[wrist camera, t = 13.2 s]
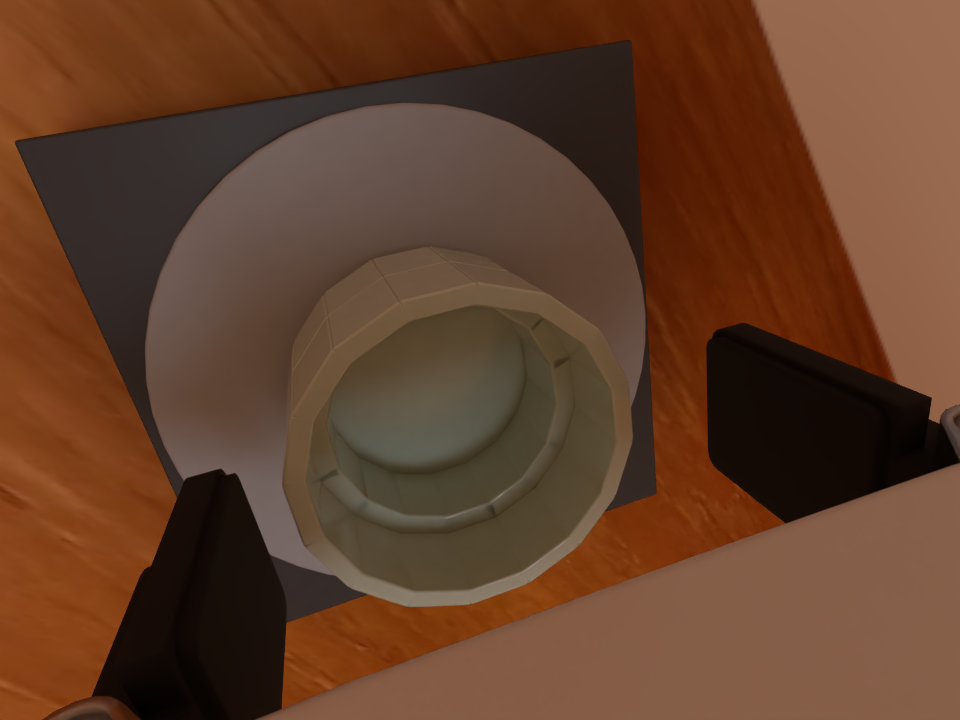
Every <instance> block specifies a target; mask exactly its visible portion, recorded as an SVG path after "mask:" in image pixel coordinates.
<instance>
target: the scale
mask: <svg viewBox="0 0 960 720" xmlns="http://www.w3.org/2000/svg"><path fill="white" fill-rule="evenodd" d="M15 144H16V147H17V149H18V151H19V153H20V155H21V158H22V160H23V162H24V164H25V166H26V169H27V171H28V173H29V175H30V177H31V179H32V182H33V184H34V186H35V188H36V190H37V193H38V195H39V197H40V199H41V201H42V204H43V206H44V208H45V210H46V212H47V214H48V217H49V219H50V221H51V223H52V225H53V228H54V230H55V232H56V234H57V236H58V238H59V241H60V243H61V245H62V247H63V249H64V252H65V254H66V256H67V258H68V260H69V263H70V265H71V267H72V269H73V271H74V273H75V276H76V278H77V280H78V282H79V284H80V287H81V289H82V291H83V293H84V295H85V298H86V300H87V302H88V304H89V306H90V308H91V311H92V313H93V315H94V317H95V319H96V322H97V324H98V326H99V328H100V330H101V332H102V335H103V337H104V339H105V341H106V343H107V346H108V348H109V350H110V352H111V354H112V357H113V359H114V361H115V363H116V365H117V367H118V370H119V372H120V374H121V376H122V378H123V381H124V383H125V385H126V387H127V389H128V392H129V394H130V396H131V398H132V400H133V402H134V405H135V407H136V409H137V411H138V413H139V416H140V418H141V420H142V422H143V424H144V426H145V429H146V431H147V433H148V435H149V437H150V440H151V442H152V444H153V446H154V448H155V451H156V453H157V455H158V457H159V459H160V461H161V464H162V466H163V468H164V470H165V472H166V475H167V477H168V479H169V481H170V483H171V485H172V488H173V490H174V492H175V494H176V496H177V498H178V496H179V493H180V490H181V488H182V485H183V483H184V480H185V479H186V478H188V477H191V476H195V475H199V474H202V473H206V472H209V471H213V470H216V469H220V468H221V469H222V470H224V472H225V473H226V475H229V474H233V473H236V474H237V475H238V477H239V479H240V481H241V484H242V486H243V489H244V491H245V494H246V496H247V499H248V501H249V504H250V506H251V509H252V511H253V514H254V516H255V519H256V521H257V524H258V527H259V529H260V532H261V534H262V537H263V539H264V542H265V544H266V547H267V549H268V552H269V554H270V557H271V559H272V562H273V564H274V567H275V569H276V572H277V574H278V577H279V580H280V582H281V585H282V587H283V590H284V593H285V598H286V604H287V617H286V623H287V622H290V621H293V620H296V619H299V618H301V617H304V616H307V615H310V614H313V613H316V612H319V611H322V610H324V609H327V608H330V607H333V606H336V605H339V604H342V603H345V602H347V601H350V600H353V599H356V598H359V597H362V596H365V595H367V594H366V593H363V592H360V591H357V590H354V589H351V588H350V587H348V586H347V585H346V584H344V583H343V582H342V581H341V580H340V579H339V578H338V577H337V576H336V575H335V574H334V573H332V572H331V571H330V570H329V569H328V568H327V567H326V566H325V565H324V564H323V563H322V562H320V561H319V560H318V559H317V558H316V557H315V556H314V555H313V554H312V553H311V552H310V551H308V550H307V549H306V548H305V545H303V543H302V540H301V538H300V535H299V532H298V529H297V527H296V524H295V521H294V519H293V516H292V513H291V510H290V508H289V505H288V502H287V499H286V497H285V494H284V491H283V489H282V466H283V446H284V431H285V429H284V428H285V408H286V392H287V383H288V375H289V367H290V359H291V351H292V347H293V345H294V340H295V339H296V337H297V335H298V334H299V332H300V330H301V329H302V327H303V325H304V324H305V322H306V321H307V319H308V317H309V316H310V314H311V312H312V311H313V309H314V308H315V306H316V304H317V303H318V301H319V299H320V298H321V297H322V296H323V295H324V293H325V292H326V291H327V290H329V289H330V288H332V287H333V286H334V285H336V284H337V283H339V282H340V281H341V280H343V279H344V278H346V277H347V276H349V275H350V274H351V273H353V272H354V271H356V270H357V269H358V268H360V267H361V266H363V265H364V264H365V263H367V262H368V261H370V260H372V261H373V259H374V258H378V257H383V256H387V255H392V254H396V253H400V252H405V251H409V250H414V249H418V248H422V247H438V248H443V249H449V250H454V251H460V252H465V253H471V254H476V255H481V256H483V257H485V258H488V259H490V260H491V261H493V262H495V263H496V264H498V265H500V266H501V267H503V268H505V269H507V270H508V271H510V272H512V273H514V274H515V275H517V276H519V277H520V278H522V279H524V280H526V281H527V282H529V283H531V284H532V285H534V286H536V287H537V288H539V289H541V290H543V291H544V292H546V293H548V294H549V295H551V296H552V297H554V298H555V299H557V300H558V301H560V302H561V303H562V304H564V305H565V306H567V307H568V308H570V309H571V310H573V311H574V312H576V313H577V314H578V315H580V316H581V317H583V318H584V319H586V320H587V321H589V322H590V323H592V324H593V325H594V326H596V327H597V328H598V329H599V330H600V331H601V332H602V334H603V336H604V338H605V339H606V341H607V343H608V345H609V347H610V348H611V350H612V352H613V354H614V356H615V357H616V359H617V361H618V363H619V365H620V366H621V368H622V370H623V372H624V374H625V375H626V377H627V379H628V383H629V389H630V403H631V417H632V431H633V439H632V445H631V449H630V452H629V455H628V458H627V461H626V464H625V467H624V471H623V474H622V477H621V480H620V483H619V486H618V490H617V493H616V495H615V496H614V499H613V500H612V502H611V503H610V504H609V506H608V507H607V509H606V510H605V511H604V512H606V511H608V510H611V509H614V508H617V507H620V506H623V505H626V504H629V503H631V502H634V501H637V500H640V499H643V498H646V497H649V496H651V495H654V494H656V493H657V492H656V474H655V456H654V438H653V420H652V402H651V383H650V365H649V347H648V329H647V311H646V293H645V275H644V257H643V239H642V221H641V203H640V185H639V166H638V148H637V130H636V112H635V94H634V76H633V58H632V42H631V41H630V40H626V41H620V42H614V43H608V44H602V45H596V46H590V47H584V48H577V49H571V50H565V51H559V52H553V53H547V54H541V55H535V56H529V57H522V58H516V59H510V60H504V61H498V62H492V63H486V64H480V65H474V66H468V67H461V68H455V69H449V70H443V71H437V72H431V73H425V74H419V75H413V76H406V77H400V78H394V79H388V80H382V81H376V82H370V83H364V84H358V85H352V86H345V87H339V88H333V89H327V90H321V91H315V92H309V93H303V94H297V95H290V96H284V97H278V98H272V99H266V100H260V101H254V102H248V103H242V104H236V105H229V106H223V107H217V108H211V109H205V110H199V111H193V112H187V113H181V114H174V115H168V116H162V117H156V118H150V119H144V120H138V121H132V122H126V123H120V124H113V125H107V126H101V127H95V128H89V129H83V130H77V131H71V132H65V133H58V134H52V135H46V136H40V137H34V138H28V139H22V140H17V141H16V142H15Z"/></svg>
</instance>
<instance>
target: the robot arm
mask: <svg viewBox="0 0 960 720" xmlns="http://www.w3.org/2000/svg"><path fill="white" fill-rule="evenodd" d="M931 400H932V398H931V397H928V396H926V395H923V394H921V393H918V392H916V391H913V390H911V389H908V388H906V387H903V386H901V385H899V384H896V383H894V382H891V381H889V380H886V379H884V378H881V377H879V376H876V375H874V374H871V373H869V372H866V371H864V370H861V369H859V368H856V367H854V366H851V365H849V364H846V363H844V362H841V361H839V360H836V359H834V358H831V357H829V356H826V355H824V354H821V353H819V352H816V351H814V350H811V349H809V348H806V347H804V346H801V345H799V344H797V343H794V342H792V341H789V340H787V339H784V338H782V337H779V336H777V335H774V334H772V333H769V332H767V331H764V330H762V329H759V328H757V327H754V326H752V325H749V324H746V323H741V324H737V325H733V326H730V327H726V328H723V329H719V330H716V331H715V332H714V334H713V336H712V339H710V340H709V341H708V343H707V410H708V453H709V457H710V460H711V462H712V464H713V465H714V466H715V467H716V468H717V469H718V470H719V471H720V472H721V473H723V474H724V475H725V476H726V477H728V478H729V479H730V480H732V481H733V482H734V483H735V484H737V485H738V486H739V487H740V488H742V489H743V490H744V491H745V492H747V493H748V494H749V495H750V496H752V497H753V498H754V499H756V500H757V501H758V502H759V503H761V504H762V505H763V506H764V507H766V508H767V509H768V510H769V511H771V512H772V513H773V514H775V515H776V516H777V517H778V518H780V519H781V520H782V521H783V522H785V523H786V524H783V525H780V526H778V527H775V528H772V529H769V530H766V531H764V532H761V533H758V534H755V535H752V536H749V537H747V538H744V539H741V540H738V541H735V542H733V543H730V544H727V545H724V546H721V547H719V548H716V549H713V550H710V551H707V552H705V553H702V554H699V555H696V556H693V557H691V558H688V559H685V560H682V561H680V562H677V563H674V564H671V565H669V566H666V567H663V568H660V569H658V570H655V571H652V572H649V573H647V574H644V575H641V576H638V577H635V578H633V579H630V580H627V581H624V582H622V583H619V584H616V585H613V586H611V587H608V588H605V589H602V590H600V591H597V592H594V593H591V594H589V595H586V596H583V597H580V598H578V599H575V600H572V601H569V602H567V603H564V604H561V605H558V606H556V607H553V608H550V609H547V610H545V611H542V612H539V613H536V614H534V615H531V616H528V617H525V618H523V619H520V620H517V621H515V622H512V623H509V624H506V625H504V626H501V627H498V628H496V629H493V630H490V631H487V632H485V633H482V634H479V635H477V636H474V637H471V638H469V639H466V640H463V641H460V642H458V643H455V644H452V645H449V646H447V647H444V648H441V649H439V650H436V651H433V652H430V653H428V654H425V655H422V656H419V657H417V658H414V659H411V660H408V661H406V662H403V663H400V664H398V665H395V666H392V667H389V668H387V669H384V670H381V671H378V672H376V673H373V674H370V675H367V676H365V677H362V678H359V679H357V680H354V681H351V682H348V683H346V684H343V685H341V686H338V687H336V688H333V689H331V690H328V691H326V692H323V693H321V694H318V695H316V696H313V697H311V698H308V699H306V700H303V701H301V702H298V703H296V704H293V705H291V706H288V707H286V708H283V709H281V707H282V689H283V671H284V653H285V635H286V617H287V604H286V598H285V593H284V590H283V587H282V585H281V582H280V580H279V577H278V574H277V572H276V569H275V567H274V564H273V562H272V559H271V557H270V554H269V552H268V549H267V547H266V544H265V542H264V539H263V537H262V534H261V532H260V529H259V527H258V524H257V521H256V519H255V516H254V514H253V511H252V509H251V506H250V504H249V501H248V499H247V496H246V494H245V491H244V489H243V486H242V484H241V481H240V479H239V477H238V475H237V474H236V473H233V474H229V475H226V473H225V472H224V470H222V469H221V468H220V469H216V470H213V471H209V472H206V473H202V474H199V475H195V476H191V477H188V478H186V479H185V480H184V483H183V485H182V488H181V490H180V493H179V496H178V498H177V501H176V503H175V506H174V509H173V511H172V514H171V516H170V519H169V521H168V524H167V527H166V529H165V532H164V534H163V537H162V540H161V542H160V545H159V547H158V550H157V553H156V555H155V558H154V560H153V563H152V566H151V567H148V568H147V569H145V570H144V571H143V573H142V574H141V576H140V578H139V580H138V583H137V585H136V588H135V590H134V593H133V595H132V598H131V600H130V603H129V605H128V608H127V610H126V613H125V615H124V618H123V620H122V622H121V625H120V627H119V630H118V632H117V635H116V637H115V640H114V642H113V645H112V647H111V650H110V652H109V655H108V657H107V660H106V662H105V665H104V667H103V670H102V672H101V675H100V677H99V680H98V682H97V685H96V687H95V689H94V692H93V694H92V697H89V698H86V699H82V700H79V701H75V702H73V703H71V704H69V705H67V706H65V707H63V708H61V709H58V710H56V711H54V712H53V713H51V714H50V715H48V716H47V717H45V718H44V719H42V720H960V405H955V406H953V407H951V408H949V409H946V410H945V411H944V412H943V413H942V415H941V418H940V424H938V423H936V422H934V421H932V420H929V413H930V406H931Z"/></svg>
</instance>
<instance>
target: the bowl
mask: <svg viewBox="0 0 960 720" xmlns="http://www.w3.org/2000/svg"><path fill="white" fill-rule="evenodd" d="M284 429H285V431H284V446H283V466H282V489H283V491H284V494H285V497H286V499H287V502H288V505H289V508H290V510H291V513H292V516H293V519H294V521H295V524H296V527H297V529H298V532H299V535H300V538H301V540H302V543H303V545H305V548H306V549H307V550H308V551H310V552H311V553H312V554H313V555H314V556H315V557H316V558H317V559H318V560H319V561H320V562H322V563H323V564H324V565H325V566H326V567H327V568H328V569H329V570H330V571H331V572H332V573H334V574H335V575H336V576H337V577H338V578H339V579H340V580H341V581H342V582H343V583H344V584H346V585H347V586H348V587H350V588H351V589H354V590H357V591H360V592H363V593H366V594H369V595H372V596H375V597H378V598H381V599H384V600H387V601H390V602H393V603H396V604H399V605H402V606H405V607H407V606H408V607H426V606H452V605H469V604H474V603H476V602H479V601H482V600H484V599H487V598H490V597H493V596H495V595H498V594H501V593H504V592H506V591H509V590H512V589H515V588H517V587H520V586H523V585H526V584H528V582H531V581H533V580H534V579H535V578H537V577H538V576H539V575H541V574H542V573H543V572H545V571H546V570H547V569H549V568H550V567H551V566H553V565H554V564H555V563H557V562H558V561H559V560H561V559H562V558H563V557H565V556H566V555H568V554H569V553H570V552H572V551H573V550H574V549H576V548H577V547H578V545H580V544H581V543H582V541H583V540H584V539H585V537H586V536H587V534H588V533H589V532H590V530H591V529H592V528H593V526H594V525H595V524H596V522H597V521H598V519H599V518H600V517H601V515H602V514H603V513H604V511H605V510H606V509H607V507H608V506H609V504H610V503H611V502H612V500H613V499H614V496H615V495H616V493H617V490H618V486H619V483H620V480H621V477H622V474H623V471H624V467H625V464H626V461H627V458H628V455H629V452H630V449H631V445H632V439H633V431H632V417H631V403H630V389H629V383H628V379H627V377H626V375H625V374H624V372H623V370H622V368H621V366H620V365H619V363H618V361H617V359H616V357H615V356H614V354H613V352H612V350H611V348H610V347H609V345H608V343H607V341H606V339H605V338H604V336H603V334H602V332H601V331H600V330H599V329H598V328H597V327H596V326H594V325H593V324H592V323H590V322H589V321H587V320H586V319H584V318H583V317H581V316H580V315H578V314H577V313H576V312H574V311H573V310H571V309H570V308H568V307H567V306H565V305H564V304H562V303H561V302H560V301H558V300H557V299H555V298H554V297H552V296H551V295H549V294H548V293H546V292H544V291H543V290H541V289H539V288H537V287H536V286H534V285H532V284H531V283H529V282H527V281H526V280H524V279H522V278H520V277H519V276H517V275H515V274H514V273H512V272H510V271H508V270H507V269H505V268H503V267H501V266H500V265H498V264H496V263H495V262H493V261H491V260H490V259H488V258H485V257H483V256H481V255H476V254H471V253H465V252H460V251H454V250H449V249H443V248H438V247H422V248H418V249H414V250H409V251H405V252H400V253H396V254H392V255H387V256H383V257H378V258H374V259H373V261H372V260H370V261H368V262H367V263H365V264H364V265H363V266H361V267H360V268H358V269H357V270H356V271H354V272H353V273H351V274H350V275H349V276H347V277H346V278H344V279H343V280H341V281H340V282H339V283H337V284H336V285H334V286H333V287H332V288H330V289H329V290H327V291H326V292H325V293H324V295H323V296H322V297H321V298H320V299H319V301H318V303H317V304H316V306H315V308H314V309H313V311H312V312H311V314H310V316H309V317H308V319H307V321H306V322H305V324H304V325H303V327H302V329H301V330H300V332H299V334H298V335H297V337H296V339H295V340H294V345H293V347H292V351H291V359H290V367H289V375H288V383H287V392H286V408H285V428H284Z"/></svg>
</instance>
